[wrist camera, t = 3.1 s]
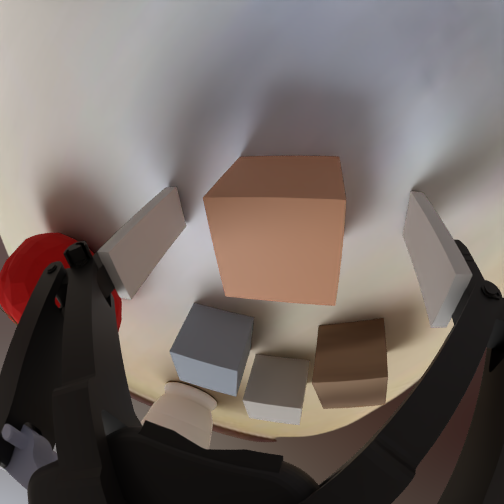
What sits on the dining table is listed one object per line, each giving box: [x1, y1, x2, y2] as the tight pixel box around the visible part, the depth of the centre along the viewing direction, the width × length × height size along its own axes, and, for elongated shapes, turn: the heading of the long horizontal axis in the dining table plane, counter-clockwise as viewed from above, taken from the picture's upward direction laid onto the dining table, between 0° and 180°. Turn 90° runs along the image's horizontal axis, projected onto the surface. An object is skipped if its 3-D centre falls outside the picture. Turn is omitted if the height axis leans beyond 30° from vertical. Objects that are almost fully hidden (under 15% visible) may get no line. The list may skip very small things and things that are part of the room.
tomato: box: [0, 233, 122, 331], centre depth 19 cm, size 11×13×10 cm
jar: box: [141, 382, 217, 449], centre depth 31 cm, size 11×10×15 cm
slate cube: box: [170, 303, 254, 396], centre depth 21 cm, size 5×5×5 cm
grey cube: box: [243, 354, 309, 425], centre depth 23 cm, size 5×5×5 cm
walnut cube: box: [312, 318, 388, 409], centre depth 18 cm, size 5×5×5 cm
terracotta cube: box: [203, 156, 346, 306], centre depth 12 cm, size 5×5×5 cm
